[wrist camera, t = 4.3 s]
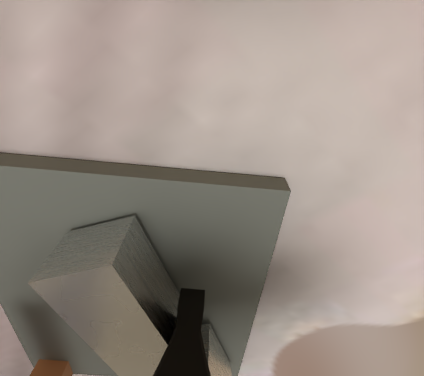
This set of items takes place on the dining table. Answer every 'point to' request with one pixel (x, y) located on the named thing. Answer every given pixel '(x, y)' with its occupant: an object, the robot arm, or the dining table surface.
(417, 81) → the dining table surface
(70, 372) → the bracket
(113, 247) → the latch
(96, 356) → the base
